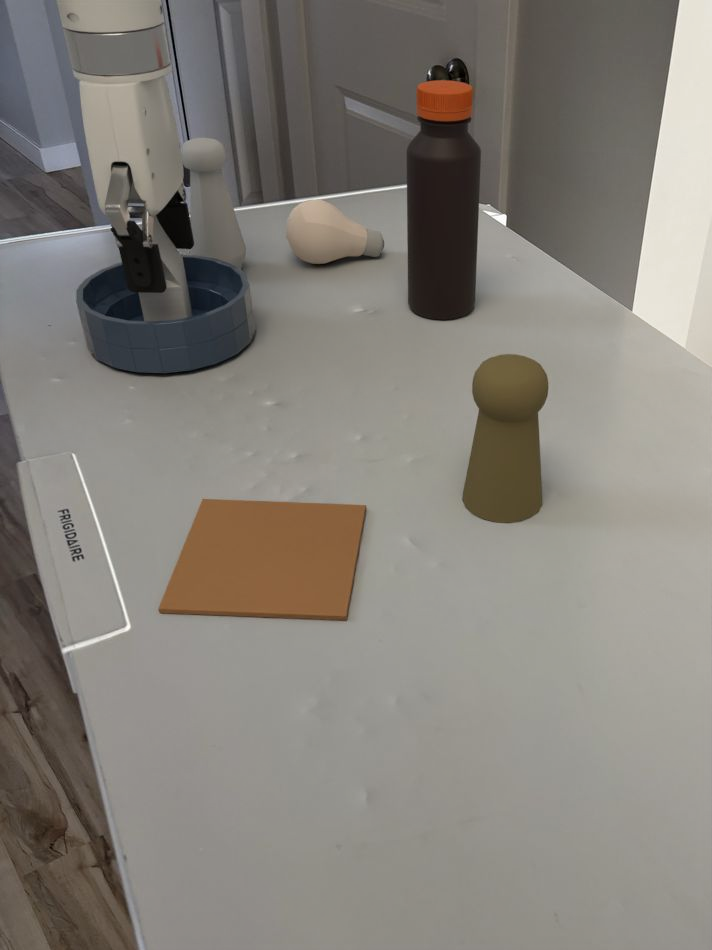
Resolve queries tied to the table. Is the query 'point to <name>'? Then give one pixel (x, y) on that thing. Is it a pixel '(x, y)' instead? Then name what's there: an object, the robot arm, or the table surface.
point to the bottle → (443, 203)
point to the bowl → (172, 341)
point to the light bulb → (328, 234)
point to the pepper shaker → (506, 440)
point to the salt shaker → (211, 203)
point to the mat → (267, 560)
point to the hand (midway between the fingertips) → (163, 268)
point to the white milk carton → (167, 283)
